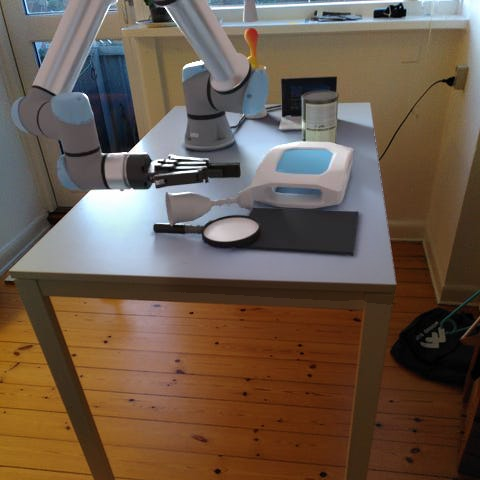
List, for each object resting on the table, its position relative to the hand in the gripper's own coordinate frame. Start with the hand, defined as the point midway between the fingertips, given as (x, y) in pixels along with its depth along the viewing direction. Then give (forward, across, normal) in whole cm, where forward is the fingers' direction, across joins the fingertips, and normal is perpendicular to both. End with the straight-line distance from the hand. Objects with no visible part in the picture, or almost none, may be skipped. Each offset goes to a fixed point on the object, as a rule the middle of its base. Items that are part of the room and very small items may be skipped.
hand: (239, 170), depth 106 cm
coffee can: (+15, -51, -13) cm, 55 cm away
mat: (+12, +2, -13) cm, 18 cm away
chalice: (+1, -3, -8) cm, 9 cm away
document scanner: (+12, -22, -13) cm, 29 cm away
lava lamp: (-8, -84, -13) cm, 86 cm away
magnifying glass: (-7, +5, -12) cm, 15 cm away
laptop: (+11, -72, -13) cm, 73 cm away
